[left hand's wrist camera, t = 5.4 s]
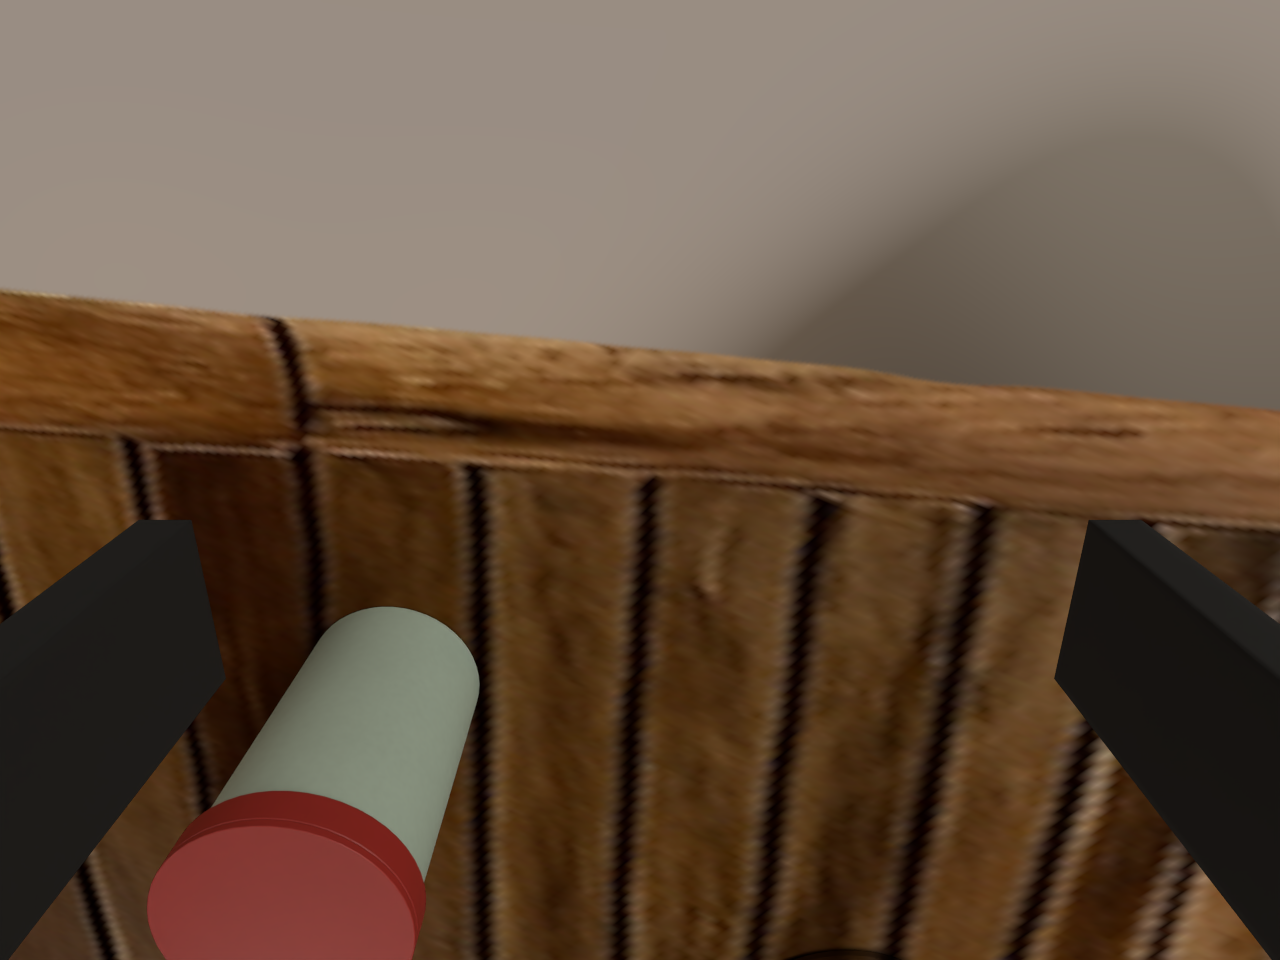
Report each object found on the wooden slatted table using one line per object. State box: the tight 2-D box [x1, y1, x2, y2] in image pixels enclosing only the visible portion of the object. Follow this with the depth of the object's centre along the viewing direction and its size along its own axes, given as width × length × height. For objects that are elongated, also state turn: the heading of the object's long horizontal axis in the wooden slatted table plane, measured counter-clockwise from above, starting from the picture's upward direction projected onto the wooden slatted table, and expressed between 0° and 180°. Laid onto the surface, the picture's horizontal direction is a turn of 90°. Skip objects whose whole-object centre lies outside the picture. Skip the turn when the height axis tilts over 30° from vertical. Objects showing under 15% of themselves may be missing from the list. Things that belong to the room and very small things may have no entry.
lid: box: [147, 791, 426, 960], centre depth 32 cm, size 10×10×2 cm
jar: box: [212, 607, 479, 881], centre depth 39 cm, size 9×9×16 cm
